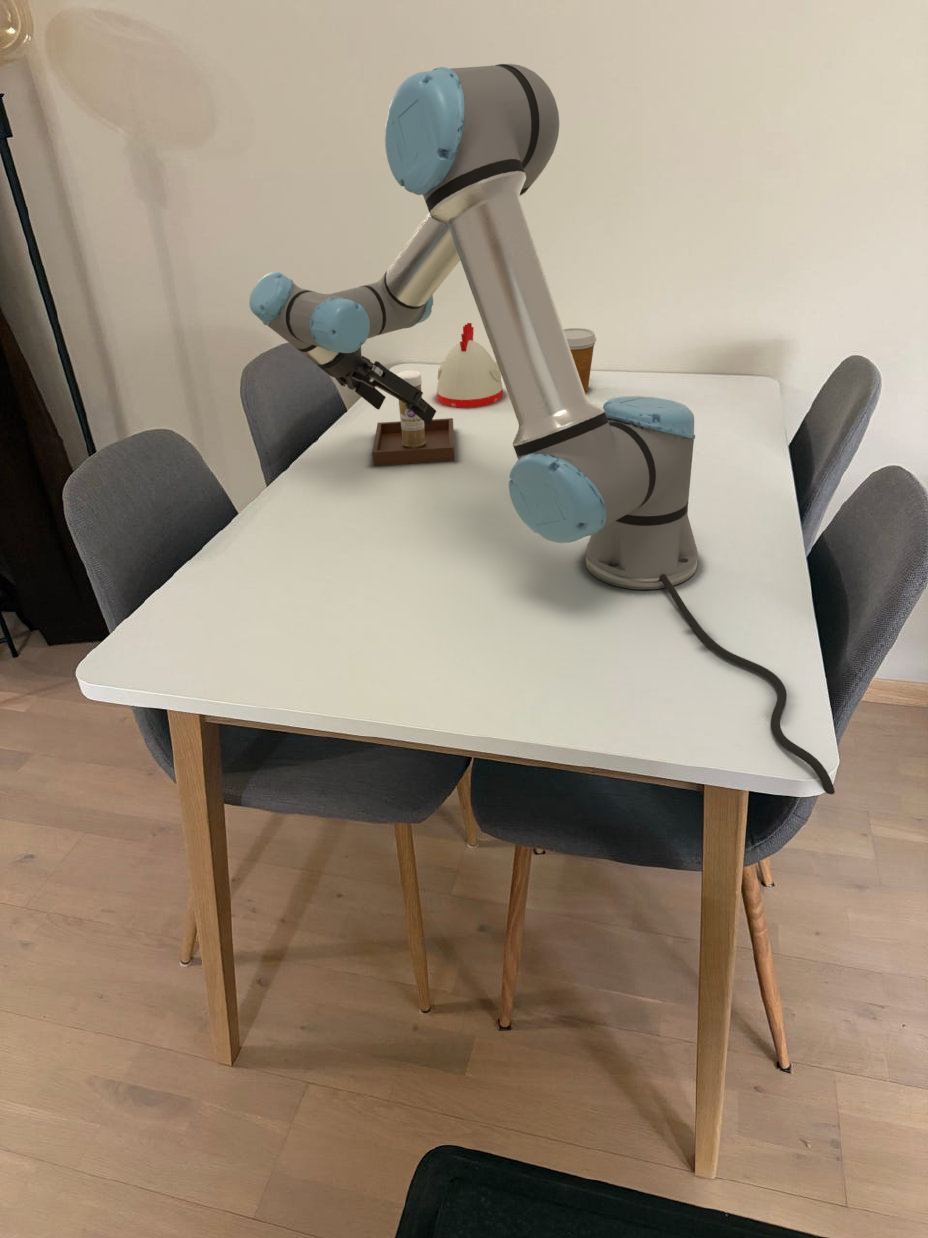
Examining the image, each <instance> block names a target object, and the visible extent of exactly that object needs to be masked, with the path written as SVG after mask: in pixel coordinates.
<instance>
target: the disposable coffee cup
mask: <svg viewBox="0 0 928 1238" xmlns="http://www.w3.org/2000/svg"><path fill="white" fill-rule="evenodd" d="M563 330H564V333H565V336H566V339H567V342H568V345H569V347H570V350H571V353H572V356H573V359H574V362H575V365H576V368H577V371H578V374H579V377H580V380H581V383H582V386H583V389H584V392H585V393H587V392H588V391H589V383H590V376H591V370H592V363H593V355H594V347H595V345H596V342H597V337H596V335H595V332H594V330H592V329H589V328H588V329H587V328H583V327H582V328H581V327H568V328H563Z"/></svg>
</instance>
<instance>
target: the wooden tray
mask: <svg viewBox="0 0 928 1238" xmlns="http://www.w3.org/2000/svg"><path fill="white" fill-rule="evenodd" d="M424 426H425V427H424V429H425V440H426V444H425V445H424V446H422V447H419V448H407V447H404V446H403V445H402V442H403V439H402V429H401V420H399V421H384V422H383V421H382V422H377V424H376V429H375V435H374V441H373V446H372V452H371V454H372V463H373V466H374V467H378V466H393V465H394V466H395V465H411V464H412V465H413V464H426V463H442V462H455V429H454V428H455V427H454V418H453V417H449V418H448V417H447V418H433V419H432V421H431V423H430V424H427V423H425V422H424Z"/></svg>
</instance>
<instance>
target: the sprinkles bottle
mask: <svg viewBox="0 0 928 1238" xmlns="http://www.w3.org/2000/svg"><path fill="white" fill-rule="evenodd" d="M396 375H397V376H399V377H400V378H402V379H403V380H405V381H406V382H408V383H409V384H411V385H412V386H414V387H416V388H417V389H419V390H421V391H422V383H423V380H422V374H421V372H419V371H418V370H402V371H400V372H398V373H396ZM421 398H422V399H423V396H422V397H421ZM405 405H406V403H404V402H402V401H401V400H399V399H398V409H399V419H400V420H399V421H401V429H402V439H403V442H402V445H403V446H404V447H407V448H419V447H422V446H424V445H425V444H426V440H425V429H424V427H425V426H424V421H423V420H422V419H421V418H420V417H418V416H417V415H416V414H415V413H414V412H412V411H411V410H408V409H406V408H407V406H405Z"/></svg>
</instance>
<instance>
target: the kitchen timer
mask: <svg viewBox="0 0 928 1238" xmlns="http://www.w3.org/2000/svg"><path fill="white" fill-rule="evenodd" d="M474 328H475V327H474V326H473V324H472V322H466V324H464V325H463V326H462V333H461V334H460V336H461V341H459V342H458V343H456V344H455V345H454V346H453V347H452V348H451V349H450V350H449V352H448V353H447V354H446V356H445V358H444V360H442V361H441V363H440V367H438V371H437V380H438V381H437V386H436V396H437V401H438V403H440V404H442V405H444V406H447V407H452V408H465V409H466V408H468V409H469V408H478V407H484V406H488V405H491V404H495V403H496V402H497V403H498V402H499V401H500V400H501V399H502V398H503V382H502V375H501V372H500V370H499V367H498V364H497V361H494V359H493V357H492V356H491V354H490V353H489V351H488V350H487V349H486V348H485V347H484V346H483V345H481V344H480V343H479V342H477V341H474V330H475V329H474Z"/></svg>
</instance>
